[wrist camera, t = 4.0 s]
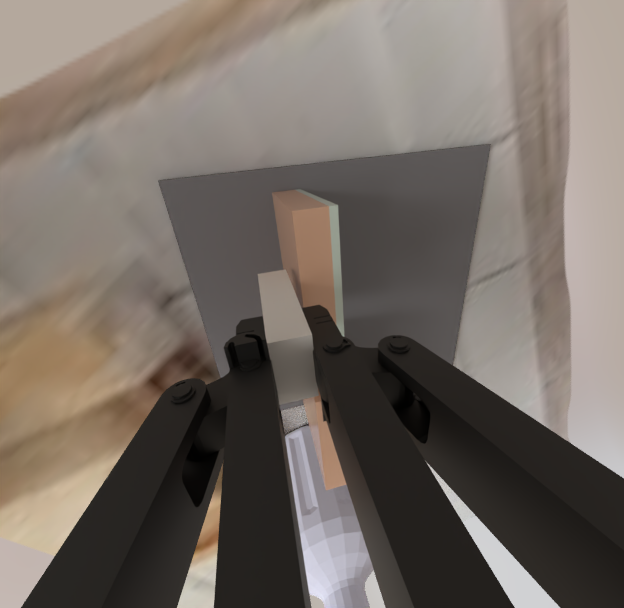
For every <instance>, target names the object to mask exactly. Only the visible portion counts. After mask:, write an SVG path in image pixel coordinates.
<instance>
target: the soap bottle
mask: <svg viewBox="0 0 624 608" xmlns="http://www.w3.org/2000/svg"><path fill="white" fill-rule="evenodd" d="M285 440H286V447H287V453H288V460H289V466H290V473H291V479H292V486H293V492H294V499H295V505H296V512H297V518H298V525H299V531H300V538H301V544H302V550H303V557H304V563H305V570H306V576H307V583H308V589H309V594H310V595H313V596H316V597H318V598H319V599H321V600H322V601H323V603H324V606H325V608H370V606H369V603H368V599H367V596H366V592H365V582H366V580H367V578H368V577H369V575H370V574H371V572H372V571H373V570H374V569H373V566H372V563H371V560H370V557H369V553H368V550H367V547H366V544H365V541H364V538H363V535H362V531H361V528H360V525H359V522H358V519H357V516H356V513H355V509H354V506H353V503H352V500H351V497H350V494H349V491H348V487H347V485H343V486H340V487H336V488H333V489H330V490H326V489H325V485H324V481H323V477H322V473H321V469H320V465H319V461H318V458H317V454H316V450H315V446H314V442H313V438H312V434H311V430H310V427H309V425H308V426H304V427H300V428H298V429H296V430H294V431H292V432H290V433H288V434H287V435H286V436H285Z"/></svg>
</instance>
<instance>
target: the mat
mask: <svg viewBox="0 0 624 608" xmlns="http://www.w3.org/2000/svg"><path fill="white" fill-rule="evenodd" d="M490 145H491V144H487V145H478V146H468V147H459V148H450V149H441V150H432V151H423V152H414V153H405V154H395V155H386V156H377V157H368V158H359V159H350V160H341V161H331V162H322V163H313V164H304V165H295V166H286V167H277V168H268V169H258V170H249V171H240V172H231V173H222V174H213V175H204V176H195V177H185V178H176V179H167V180H159V181H158V182H159V185H160V188H161V191H162V194H163V198H164V201H165V204H166V207H167V210H168V213H169V216H170V220H171V223H172V226H173V229H174V232H175V235H176V239H177V242H178V245H179V248H180V251H181V254H182V257H183V261H184V264H185V267H186V270H187V273H188V276H189V280H190V283H191V286H192V289H193V292H194V295H195V298H196V302H197V305H198V308H199V311H200V314H201V317H202V321H203V324H204V327H205V330H206V333H207V336H208V339H209V343H210V346H211V349H212V352H213V355H214V358H215V362H216V365H217V368H218V371H219V374H220V377H221V378H222V377H224V376H225V375H226V374H228V373H229V370H230V368H229V365H228V362H227V358H226V355H225V351H224V346H225V343H226V342H227V341H228V340H229V339H230V338H232V337H234V336H236V326H237V325H238V324H239V322H240V321H241V320H243V319H249V318H254V317H259V316H263V312H262V304H261V296H260V288H259V280H258V274H261V273H267V272H273V271H279V270H283V264H282V257H281V250H280V244H279V237H278V230H277V224H276V217H275V210H274V203H273V197H272V192H280V191H288V190H296V189H301V190H304V191H306V192H308V193H311V194H313V195H315V196H318V197H320V198H323V199H325V200H327V201H330V202H332V203H334V204H337V205H338V215H339V236H340V256H341V276H342V297H343V317H344V337H346V338H348V339H350V340H351V341H352V342H353V343H354V345H355V346H357V347H364V348H378V343H379V342H380V340H381V339H383V338H384V337H387V336H391V335H401V336H406V337H409V338H411V339H413V340H415V341H416V342H418V343H420V344H421V345H423V346H424V347H426V348H427V349H429V350H430V351H432V352H433V353H435V354H436V355H438V356H439V357H441V358H442V359H444V360H445V361H447V362H448V363H450V364H451V365H453V360H454V354H455V348H456V343H457V337H458V331H459V325H460V319H461V314H462V308H463V302H464V296H465V290H466V285H467V279H468V273H469V267H470V261H471V256H472V250H473V244H474V238H475V232H476V226H477V221H478V215H479V209H480V203H481V197H482V192H483V186H484V180H485V174H486V168H487V163H488V157H489V151H490ZM301 405H304V403H303V400H298V401H294V402H290V403H285V404H281V405H280V410H284V409H289V408H293V407H297V406H301Z"/></svg>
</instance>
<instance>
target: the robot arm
mask: <svg viewBox="0 0 624 608" xmlns="http://www.w3.org/2000/svg"><path fill="white" fill-rule="evenodd" d="M258 280H259V288H260V296H261V304H262V312H263V316H259V317H254V318H249V319H243V320H241V321H240V322H239V324H238V325H237V326H236V336H234V337H232V338H230V339H229V340H228V341H227V342H226V343H225V346H224V351H225V355H226V358H227V362H228V365H229V368H230V370H229V373H228V374H226V375H225V376H224V377H222V378H220V379H219V380H217V381H214V382H212V383H210V384H208V385H206V384H205V382H204V381H202V380H200V379H194V378H192V379H186V380H182V381H180V382H178V383H175V384H174V385H172V386H171V387H169V388H168V389H167V390H166V391H165V392H164V393H163V394H162V395H161V397H160V398H159V400H158V401H157V403H156V404H155V406H154V407H153V409H152V410H151V412H150V413H149V415H148V416H147V418H146V419H145V421H144V423H143V424H142V426H141V427H140V429H139V430H138V432H137V433H136V435H135V436H134V438H133V439H132V441H131V442H130V444H129V445H128V447H127V448H126V450H125V451H124V453H123V454H122V456H121V457H120V459H119V460H118V462H117V463H116V465H115V466H114V468H113V469H112V471H111V472H110V474H109V475H108V477H107V478H106V480H105V481H104V483H103V485H102V486H101V488H100V489H99V491H98V492H97V494H96V495H95V497H94V498H93V500H92V501H91V503H90V504H89V506H88V507H87V509H86V510H85V512H84V513H83V515H82V516H81V518H80V519H79V521H78V522H77V524H76V525H75V527H74V528H73V530H72V531H71V533H70V534H69V536H68V537H67V539H66V540H65V542H64V543H63V545H62V547H61V548H60V550H59V551H58V553H57V554H56V556H55V557H54V559H53V560H52V562H51V563H50V565H49V566H48V568H47V569H46V571H45V572H44V574H43V575H42V577H41V578H40V580H39V581H38V583H37V584H36V586H35V587H34V589H33V590H32V592H31V594H30V595H29V597H28V598H27V599H26V601H25V602H24V604H23V606H22V607H21V608H177V605H178V602H179V599H180V596H181V593H182V589H183V586H184V583H185V580H186V577H187V574H188V570H189V567H190V564H191V561H192V558H193V555H194V551H195V548H196V545H197V542H198V539H199V536H200V532H201V529H202V526H203V523H204V520H205V517H206V513H207V510H208V507H209V504H210V501H211V498H212V494H213V491H214V488H215V485H216V482H217V479H218V475H219V472H220V469H221V466H222V463H223V477H222V493H221V508H220V523H219V539H218V554H217V569H216V585H215V600H214V608H311V602H310V596H309V589H308V583H307V576H306V570H305V563H304V557H303V550H302V544H301V538H300V531H299V525H298V518H297V512H296V505H295V499H294V492H293V486H292V479H291V473H290V466H289V460H288V453H287V447H286V440H285V434H284V428H283V421H282V415H281V410H280V405H281V404H285V403H290V402H294V401H298V400H303V399H307V398H311V397H315V396H319V393H318V389H319V392H320V395H321V404H322V413H323V422H324V421H327V425H328V428H329V431H330V434H331V437H332V440H333V443H334V447H335V450H336V453H337V456H338V459H339V462H340V465H341V469H342V472H343V475H344V478H345V481H346V484H347V487H348V491H349V494H350V497H351V500H352V503H353V506H354V509H355V513H356V516H357V519H358V522H359V525H360V528H361V531H362V535H363V538H364V541H365V544H366V547H367V550H368V553H369V557H370V560H371V563H372V566H373V569H374V572H375V575H376V579H377V582H378V585H379V588H380V591H381V594H382V597H383V600H384V604H385V607H386V608H515V607H514V606H513V604H512V603H511V601H510V600H509V598H508V596H507V595H506V593H505V592H504V590H503V588H502V586H501V585H500V583H499V581H498V580H497V578H496V577H495V575H494V573H493V572H492V570H491V568H490V567H489V565H488V564H487V562H486V560H485V559H484V557H483V555H482V554H481V552H480V550H479V549H478V547H477V545H476V544H475V542H474V541H473V539H472V537H471V535H470V534H469V532H468V531H467V529H466V527H465V526H464V524H463V522H462V521H461V519H460V517H459V516H458V514H457V512H456V511H455V509H454V508H453V506H452V504H451V503H450V501H449V499H448V498H447V496H446V494H445V493H444V491H443V489H442V488H441V486H440V485H439V483H438V481H437V480H436V478H435V476H434V475H433V473H432V471H431V470H430V468H429V466H428V465H427V463H428V464H429V465H430V466H431V467H432V468H433V469H434V470H435V471H436V473H437V474H438V475H439V476H440V477H441V478H442V479H443V480H444V481H445V482H446V483H447V485H448V486H449V487H450V488H451V489H452V490H453V491H454V492H455V493H456V494H457V495H458V497H459V498H460V499H461V500H462V501H463V502H464V503H465V504H466V505H467V506H468V507H469V509H470V510H471V511H472V512H473V513H474V514H475V515H476V516H477V517H478V518H479V519H480V521H481V522H482V523H483V524H484V525H485V526H486V527H487V528H488V529H489V530H490V531H491V532H492V534H493V535H494V536H495V537H496V538H497V539H498V540H499V541H500V542H501V543H502V544H503V546H504V547H505V548H506V549H507V550H508V551H509V552H510V553H511V554H512V555H513V556H514V558H515V559H516V560H517V561H518V562H519V563H520V564H521V565H522V566H523V567H524V569H525V570H526V571H527V572H528V573H529V574H530V575H531V576H532V577H533V578H534V579H535V580H536V582H537V583H538V584H539V585H540V586H541V587H542V588H543V589H544V590H545V591H546V592H547V594H548V595H549V596H550V597H551V598H552V599H553V600H554V601H555V602H556V603H557V604H558V606H559V607H560V608H624V478H622V477H620V476H619V475H618V474H616V473H615V472H613V471H612V470H610V469H608V468H607V467H606V466H604V465H602V464H601V463H599V462H598V461H596V460H595V459H593V458H592V457H590V456H589V455H587V454H586V453H584V452H583V451H581V450H580V449H578V448H577V447H575V446H574V445H572V444H571V443H569V442H568V441H566V440H565V439H563V438H562V437H560V436H559V435H557V434H556V433H554V432H553V431H551V430H550V429H548V428H547V427H545V426H544V425H542V424H540V423H539V422H537V421H536V420H534V419H533V418H531V417H530V416H528V415H527V414H525V413H524V412H522V411H521V410H519V409H518V408H516V407H515V406H513V405H512V404H510V403H509V402H507V401H506V400H504V399H503V398H501V397H500V396H498V395H497V394H495V393H494V392H492V391H491V390H489V389H488V388H486V387H485V386H483V385H482V384H480V383H478V382H477V381H475V380H474V379H472V378H471V377H469V376H468V375H466V374H465V373H463V372H462V371H460V370H459V369H457V368H456V367H454V366H453V365H451V364H450V363H448V362H447V361H445V360H444V359H442V358H441V357H439V356H438V355H436V354H435V353H433V352H432V351H430V350H429V349H427V348H426V347H424V346H423V345H421V344H420V343H418V342H416V341H415V340H413V339H411V338H409V337H406V336H401V335H391V336H387V337H384V338H383V339H381V340H380V342H379V343H378V348H364V347H357V346H355V345H354V343H353V342H352V341H351V340H350V339H348V338H346V337H344V336H342V334H341V332H340V331H339V329H338V327H337V326H336V324H335V322H334V321H333V319H332V317H331V316H330V313H329V312H328V310H327V309H326V308H325V307H323V306H321V305H315V306H309V307H304V308H301V306H300V303H299V301H298V298H297V296H296V293H295V291H294V288H293V286H292V283H291V281H290V278H289V276H288V273H287V271H286V269H285V270H279V271H273V272H267V273H261V274H258ZM424 459H425V460H424ZM223 460H224V462H223ZM425 461H426V462H427V463H426V462H425Z"/></svg>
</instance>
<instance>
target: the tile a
mask: <svg viewBox="0 0 624 608" xmlns="http://www.w3.org/2000/svg"><path fill="white" fill-rule="evenodd" d="M272 197H273V203H274V210H275V217H276V224H277V230H278V237H279V244H280V250H281V257H282V264H283V270H285V269H286V271H287V273H288V276H289V278H290V281H291V283H292V286H293V288H294V291H295V293H296V296H297V298H298V301H299V303H300V306H301V308H304V307H309V306H315V305H321V306H323V307H325V308H326V309H327V310H328V312H329V313H330V316H331V317H332V319H333V321H334V322H335V324H336V326H337V327H338V329H339V331H340V332H341V334H342V336H344V317H343V297H342V276H341V256H340V236H339V215H338V205H337V204H334V203H332V202H330V201H327V200H325V199H323V198H320V197H318V196H315V195H313V194H311V193H308V192H306V191H304V190H301V189H296V190H288V191H280V192H272Z"/></svg>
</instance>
